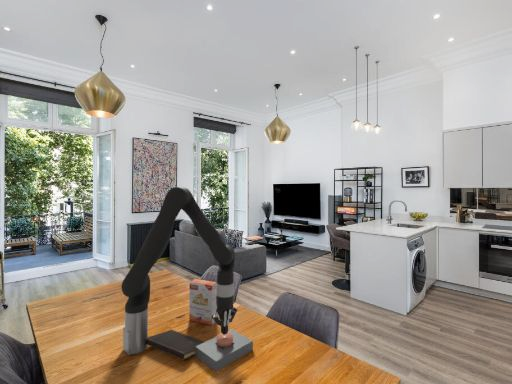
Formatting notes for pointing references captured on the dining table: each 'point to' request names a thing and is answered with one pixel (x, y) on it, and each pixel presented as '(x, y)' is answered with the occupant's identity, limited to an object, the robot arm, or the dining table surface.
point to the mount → (223, 351)
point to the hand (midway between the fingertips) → (224, 333)
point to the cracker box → (202, 301)
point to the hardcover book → (175, 344)
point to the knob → (224, 340)
